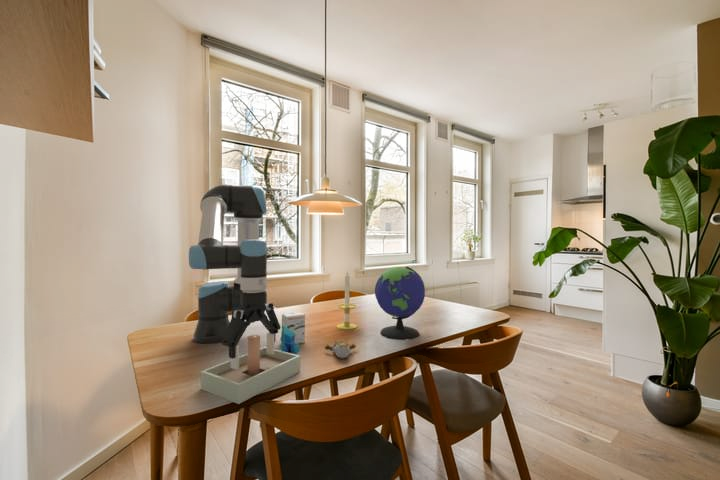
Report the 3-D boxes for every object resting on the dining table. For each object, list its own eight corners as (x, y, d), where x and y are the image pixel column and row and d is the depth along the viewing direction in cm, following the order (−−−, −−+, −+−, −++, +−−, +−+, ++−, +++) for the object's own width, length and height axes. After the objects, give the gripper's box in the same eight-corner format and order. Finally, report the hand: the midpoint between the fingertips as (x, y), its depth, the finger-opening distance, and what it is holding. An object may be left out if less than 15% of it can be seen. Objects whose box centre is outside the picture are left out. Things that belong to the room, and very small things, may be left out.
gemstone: (276, 364, 111) (276, 328, 111) (281, 354, 119) (281, 322, 119) (298, 363, 111) (298, 328, 111) (301, 354, 120) (302, 321, 120)
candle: (357, 329, 152) (357, 271, 151) (335, 329, 152) (335, 271, 151) (357, 323, 161) (357, 269, 161) (337, 323, 162) (337, 269, 161)
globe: (385, 324, 161) (385, 263, 160) (430, 330, 151) (430, 265, 151) (366, 337, 141) (366, 267, 140) (416, 344, 131) (417, 270, 131)
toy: (353, 336, 130) (360, 343, 116) (353, 350, 130) (360, 359, 115) (323, 337, 128) (326, 345, 113) (323, 351, 127) (326, 361, 113)
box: (200, 389, 92) (200, 371, 92) (264, 361, 113) (264, 346, 113) (238, 404, 84) (238, 384, 84) (300, 371, 105) (300, 355, 105)
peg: (244, 380, 98) (244, 337, 98) (254, 376, 101) (254, 334, 101) (253, 383, 96) (253, 339, 96) (262, 378, 99) (262, 336, 99)
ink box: (285, 346, 128) (285, 316, 128) (280, 342, 133) (281, 313, 132) (305, 342, 133) (305, 313, 133) (300, 339, 137) (300, 311, 137)
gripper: (226, 298, 86) (226, 379, 86) (291, 286, 107) (291, 350, 107) (208, 295, 89) (208, 372, 90) (275, 284, 111) (274, 346, 111)
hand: (253, 360), depth 99 cm, fingers open, 13 cm apart
